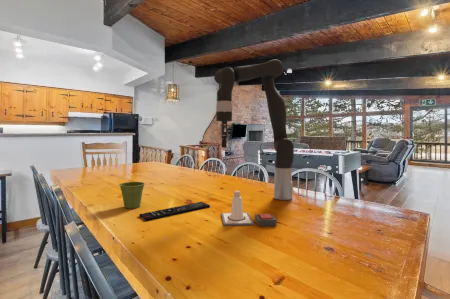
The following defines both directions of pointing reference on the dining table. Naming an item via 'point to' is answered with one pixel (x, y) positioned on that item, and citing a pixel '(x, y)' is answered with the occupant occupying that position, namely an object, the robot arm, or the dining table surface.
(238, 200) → the salt shaker
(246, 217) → the board
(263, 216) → the button
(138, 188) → the plant pot
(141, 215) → the remote control
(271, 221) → the button housing
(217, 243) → the dining table surface
